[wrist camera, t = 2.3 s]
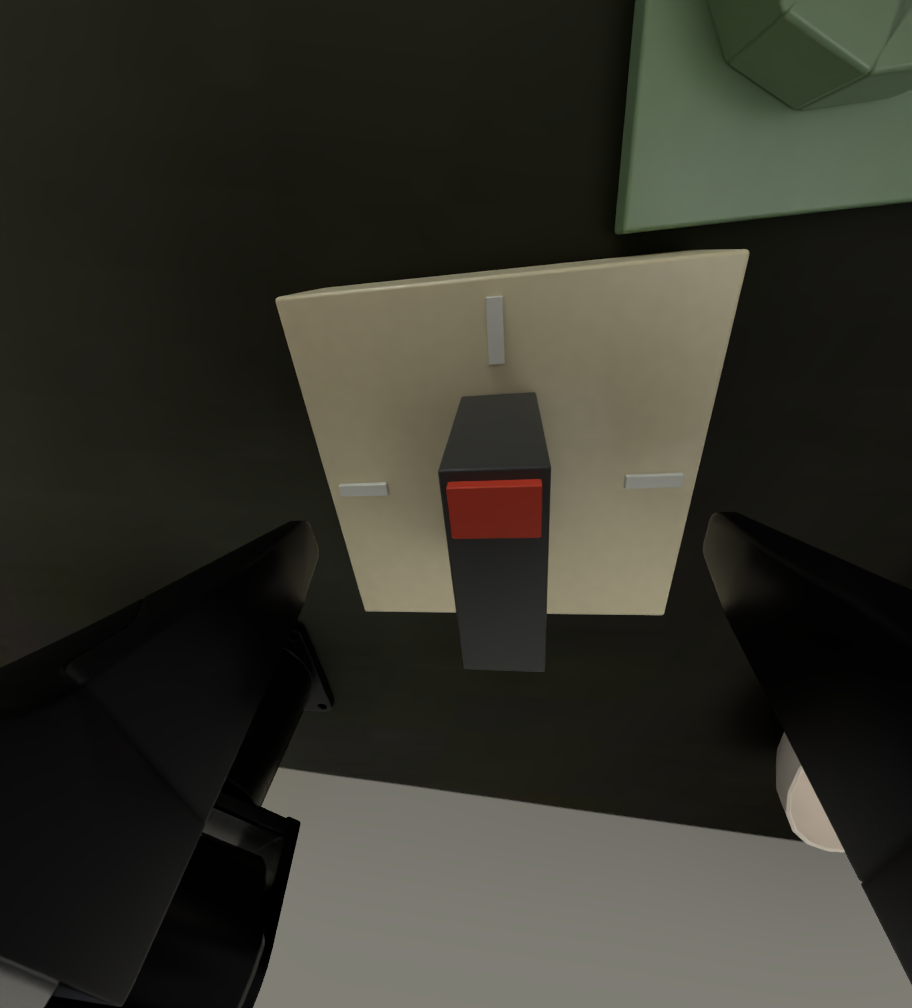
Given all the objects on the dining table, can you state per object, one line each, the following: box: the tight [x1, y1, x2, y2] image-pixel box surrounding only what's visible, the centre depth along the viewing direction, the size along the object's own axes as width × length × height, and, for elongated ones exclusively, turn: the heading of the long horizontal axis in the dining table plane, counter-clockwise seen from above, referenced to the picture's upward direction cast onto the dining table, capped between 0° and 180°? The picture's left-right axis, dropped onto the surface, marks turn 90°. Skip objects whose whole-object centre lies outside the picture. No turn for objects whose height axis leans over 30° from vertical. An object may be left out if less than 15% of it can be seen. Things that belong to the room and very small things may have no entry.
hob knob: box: [438, 392, 551, 672], centre depth 9 cm, size 5×2×4 cm, turn 6°
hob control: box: [276, 249, 749, 615], centre depth 12 cm, size 10×10×3 cm
